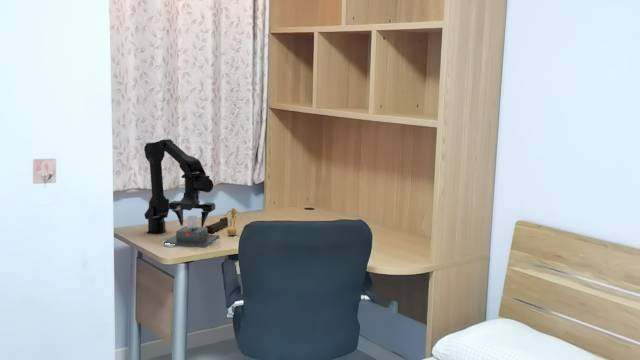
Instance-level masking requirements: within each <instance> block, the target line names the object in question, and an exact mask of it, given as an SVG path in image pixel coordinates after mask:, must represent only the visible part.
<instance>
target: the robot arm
mask: <svg viewBox="0 0 640 360" xmlns="http://www.w3.org/2000/svg"><path fill="white" fill-rule="evenodd" d="M143 150H144V154H145V156H144V157H145V159H146V160H147V162H148V163H149V172H150V183H151V184H150V186H151V197H150V199H149V202H148V208H147V210H146V211H145V213H144V214H143V215H144V219H146V220H147V223H148V224H147V225H148V226H147V227H148V230H147V231H146V234H147V233H148V234H160V235H161V234H163V233H164V232H166V231H167V229H166V221H165V218H166V219H167V218H168V215H169V212H170V210H171V212H174V213H175V215H176V216H177V219H178V222H179V223H180V224H179V225H180V227H184V226H183V225H184V211H192V209H198V210H200V209H201V210H202V211H200V213H201V214H200V215H201V220H200V221H201V222H200V223H201V226H200V227H205V222H206V220H207V218H208V215H209V214H210V213H211V212H213V211H215V210H216V203H214V202H207V201H206V202H204V203H201V201H200V200H199V199H200V194H201V192H202V193H203V192H204V193H210V192H211V191H212V190H213V189H214V183H213V180H212V179H211V178H210V175H207V174H206V171H205V169H204V167H203V165H202V163H201V161H200V160H199V159H198V158H196V157H195V156H191V155H188V154H187V153H186V152H184V151H183V149H181V148H180V147H179V146H178V145H177V144H176V143H174V142H173V140H172V139H170V138H166V139H160V140H158V141H154V142H146V143H145V145H144V148H143ZM165 152H166V153H167V154H168V155H169V156H170V157H171V158H173V159H174V160H175V161H176V162H177V163H178V164H179V168H180V170H181V172H183V173H184V174H182V175H181V177H180V178H181V179H184V192H183V197H182V199H181V200H173V201H170V199H169V198H167V197H166V196H165V195H164V194H165V193H164V181H163V180H164V179H163V178H164V177H163V170H162V169H163V168H162V162H163V160H164V157H165V154H166V153H165ZM200 203H201V204H200Z"/></svg>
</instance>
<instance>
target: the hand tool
mask: <svg viewBox="0 0 640 360" xmlns="http://www.w3.org/2000/svg"><path fill="white" fill-rule="evenodd" d="M228 218H229V217H227V216H225V218H224V217H222V218H220V219H219V221H217V222H214V223H211V224H209V225H205V227H206V228H207V233H208V235H213V234H214V233H215V232H216V231H219V230H221V229H225V228H227V227H228V226H229V219H228Z"/></svg>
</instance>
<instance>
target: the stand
mask: <svg viewBox="0 0 640 360" xmlns="http://www.w3.org/2000/svg"><path fill="white" fill-rule="evenodd" d="M175 234H176V235H173V236H172V237H170V238H169V239H167V240H165V241H163V245H164V244H165V243H170V244H175V245H174V246H176V245H177V247H179V246H180V247H181V246H182V247H193V248H194V247H195V248H196V247H197V248H206V247H208V246H210V245H211V244H213V243H214V242H215V241H217V240H218V239H219V238H220V234H219V235H218V234H208V233H207V228H206V226H203V227H201V226H197V230H195V231H192V229H187V225H186V226H185V225H184V226H182V227H181V228H180V229H178V230H176V231H175Z"/></svg>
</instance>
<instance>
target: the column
mask: <svg viewBox="0 0 640 360" xmlns="http://www.w3.org/2000/svg"><path fill="white" fill-rule="evenodd" d="M197 219H198V217H197V215H189V216H187V218H186V221H187V225H186V226H187V229H192V231H195V230H197V227H198V223H197V222H198V221H197Z"/></svg>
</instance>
